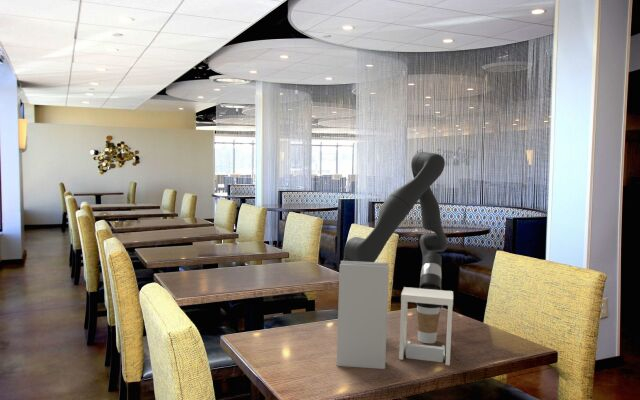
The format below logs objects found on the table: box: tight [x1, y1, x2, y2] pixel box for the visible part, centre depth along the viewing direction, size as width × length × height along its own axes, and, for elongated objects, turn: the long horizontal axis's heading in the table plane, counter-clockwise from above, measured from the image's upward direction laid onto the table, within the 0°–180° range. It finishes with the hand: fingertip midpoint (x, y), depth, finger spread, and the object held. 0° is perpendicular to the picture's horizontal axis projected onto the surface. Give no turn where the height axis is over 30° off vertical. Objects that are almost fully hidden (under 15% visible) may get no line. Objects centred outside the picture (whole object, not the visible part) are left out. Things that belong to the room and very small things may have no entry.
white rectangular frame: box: [398, 286, 454, 366], centre depth 160 cm, size 15×13×20 cm
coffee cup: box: [415, 303, 442, 345], centre depth 173 cm, size 8×8×15 cm
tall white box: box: [336, 260, 390, 370], centre depth 151 cm, size 14×6×30 cm, turn 84°
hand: (428, 320), depth 179 cm, fingers closed
